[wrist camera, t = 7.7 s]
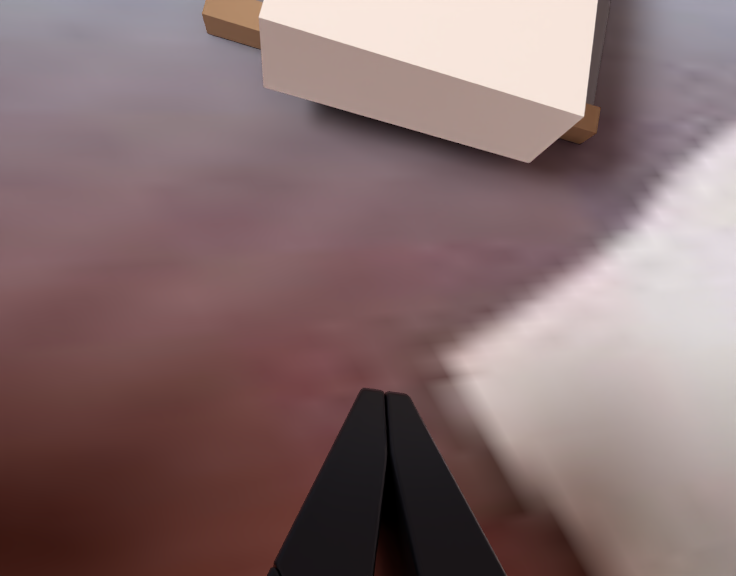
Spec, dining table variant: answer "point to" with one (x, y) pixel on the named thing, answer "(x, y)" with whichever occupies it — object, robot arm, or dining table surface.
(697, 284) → the dining table surface
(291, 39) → the tile
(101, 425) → the dining table surface
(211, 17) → the mat
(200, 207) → the dining table surface
